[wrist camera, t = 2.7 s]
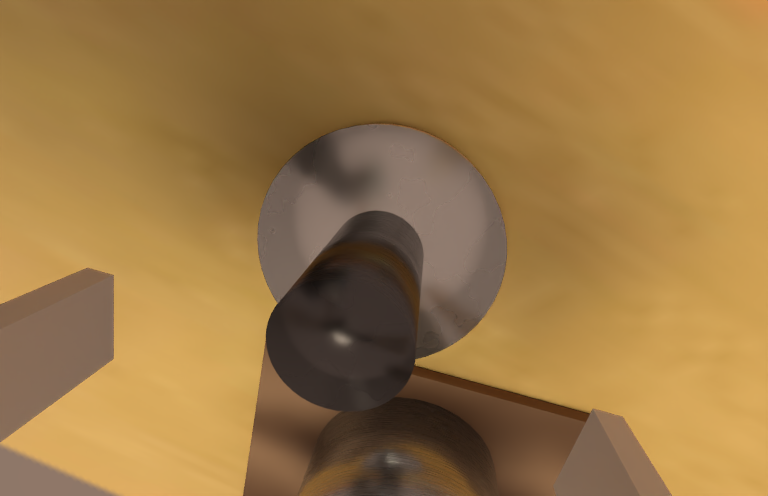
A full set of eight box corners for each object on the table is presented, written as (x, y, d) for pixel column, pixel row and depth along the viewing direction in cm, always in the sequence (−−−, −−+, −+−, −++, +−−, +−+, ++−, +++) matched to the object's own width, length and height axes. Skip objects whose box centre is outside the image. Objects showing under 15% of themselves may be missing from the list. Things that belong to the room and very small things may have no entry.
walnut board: (272, 327, 23) (266, 334, 22) (598, 416, 22) (604, 427, 21) (245, 506, 28) (240, 517, 27) (508, 583, 27) (511, 597, 26)
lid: (287, 96, 19) (146, 80, 10) (537, 158, 18) (638, 203, 9) (258, 313, 23) (140, 446, 14) (461, 368, 22) (478, 544, 13)
